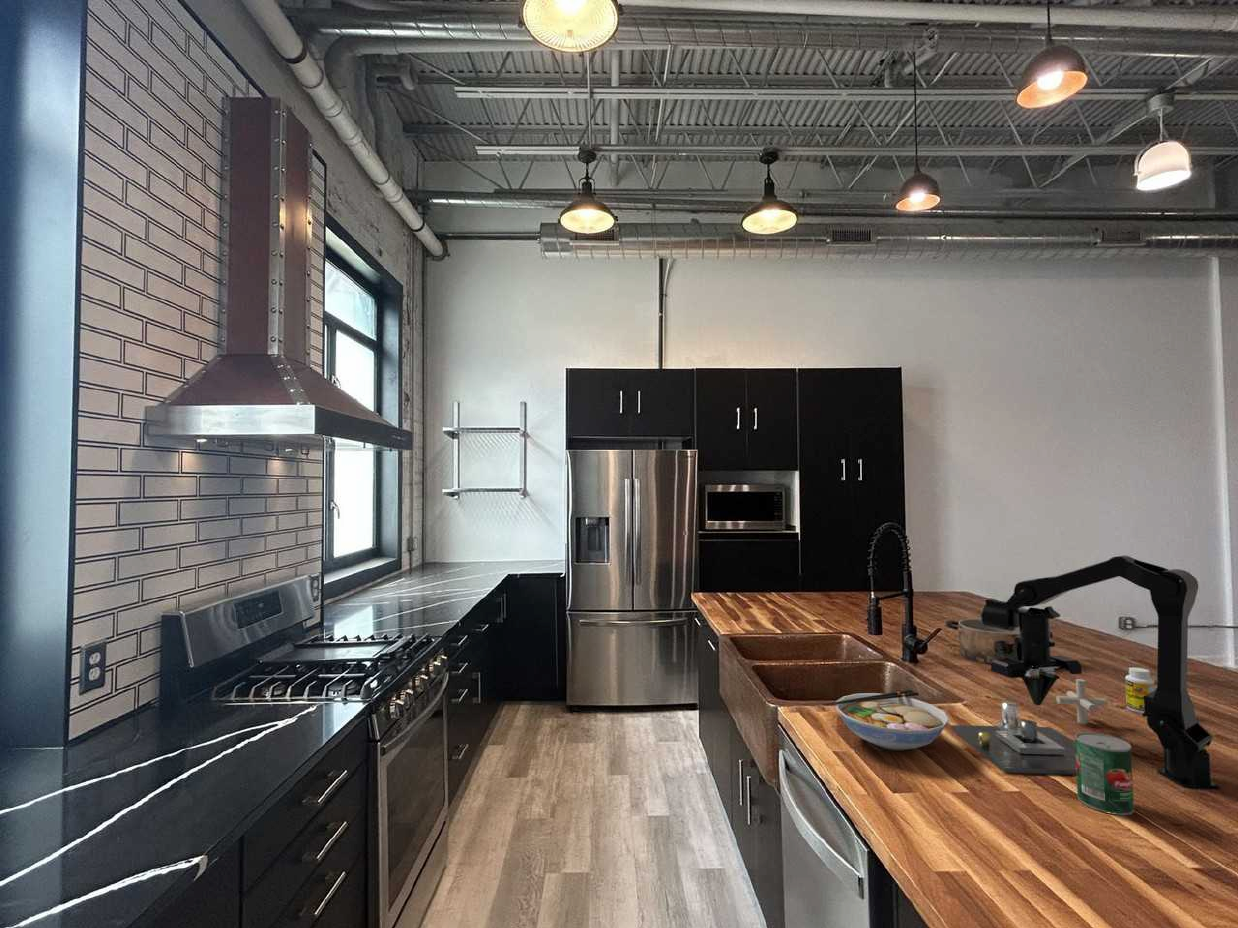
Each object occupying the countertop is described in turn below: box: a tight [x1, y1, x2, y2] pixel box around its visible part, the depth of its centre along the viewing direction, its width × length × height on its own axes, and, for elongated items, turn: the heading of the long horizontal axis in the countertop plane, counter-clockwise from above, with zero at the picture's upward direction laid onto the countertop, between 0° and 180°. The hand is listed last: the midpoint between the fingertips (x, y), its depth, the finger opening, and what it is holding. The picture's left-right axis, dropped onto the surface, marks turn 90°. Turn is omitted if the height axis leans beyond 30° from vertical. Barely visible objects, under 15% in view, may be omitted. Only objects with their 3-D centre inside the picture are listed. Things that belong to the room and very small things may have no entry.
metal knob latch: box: [996, 700, 1065, 755], centre depth 132 cm, size 14×9×6 cm, turn 176°
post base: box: [951, 719, 1077, 776], centre depth 129 cm, size 22×22×6 cm
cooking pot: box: [945, 618, 1053, 667], centre depth 201 cm, size 30×22×11 cm
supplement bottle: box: [1124, 667, 1156, 714], centre depth 153 cm, size 6×6×10 cm
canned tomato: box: [1074, 731, 1135, 816], centre depth 108 cm, size 8×8×11 cm
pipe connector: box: [1055, 678, 1108, 725], centre depth 145 cm, size 10×10×10 cm
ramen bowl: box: [822, 689, 950, 752], centre depth 133 cm, size 25×23×8 cm
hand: (1037, 704), depth 138 cm, fingers closed
